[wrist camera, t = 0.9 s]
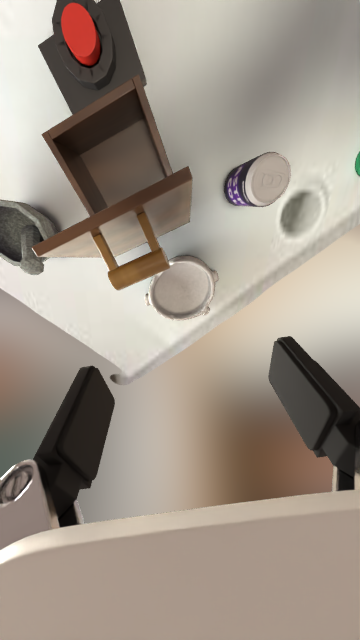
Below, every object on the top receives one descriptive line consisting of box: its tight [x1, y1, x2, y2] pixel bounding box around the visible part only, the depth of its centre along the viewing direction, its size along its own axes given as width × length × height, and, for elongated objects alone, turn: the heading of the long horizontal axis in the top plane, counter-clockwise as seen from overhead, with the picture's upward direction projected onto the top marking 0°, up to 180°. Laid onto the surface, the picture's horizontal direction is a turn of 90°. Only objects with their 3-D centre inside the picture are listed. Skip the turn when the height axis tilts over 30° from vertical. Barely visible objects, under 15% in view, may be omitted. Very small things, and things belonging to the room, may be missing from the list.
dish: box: [145, 256, 219, 320], centre depth 40 cm, size 14×14×5 cm
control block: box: [38, 0, 146, 115], centre depth 24 cm, size 11×8×4 cm
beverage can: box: [224, 152, 291, 207], centre depth 28 cm, size 6×6×12 cm
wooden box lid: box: [32, 167, 192, 290], centre depth 21 cm, size 15×13×5 cm
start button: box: [61, 3, 100, 66], centre depth 21 cm, size 4×4×2 cm
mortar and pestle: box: [0, 200, 58, 275], centre depth 30 cm, size 11×9×12 cm
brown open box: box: [42, 74, 173, 217], centre depth 28 cm, size 15×13×9 cm
